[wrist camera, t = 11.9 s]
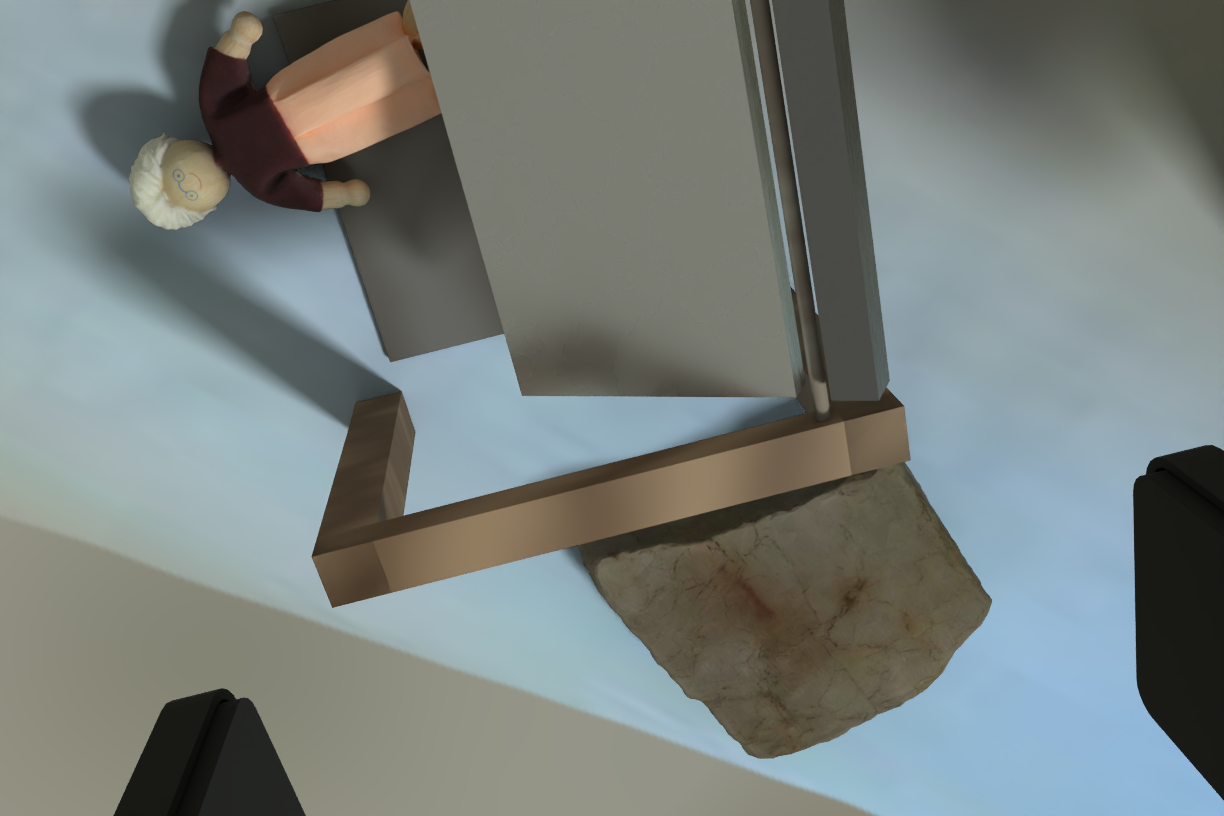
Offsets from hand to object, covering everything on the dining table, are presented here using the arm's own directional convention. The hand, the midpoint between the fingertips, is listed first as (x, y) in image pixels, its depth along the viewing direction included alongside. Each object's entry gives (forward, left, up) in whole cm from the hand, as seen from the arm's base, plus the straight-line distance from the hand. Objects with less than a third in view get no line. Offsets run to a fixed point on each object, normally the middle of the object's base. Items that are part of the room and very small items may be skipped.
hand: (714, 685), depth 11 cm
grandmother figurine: (+3, -5, -32) cm, 32 cm away
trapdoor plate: (-3, 0, -24) cm, 25 cm away
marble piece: (-7, +22, -34) cm, 41 cm away
